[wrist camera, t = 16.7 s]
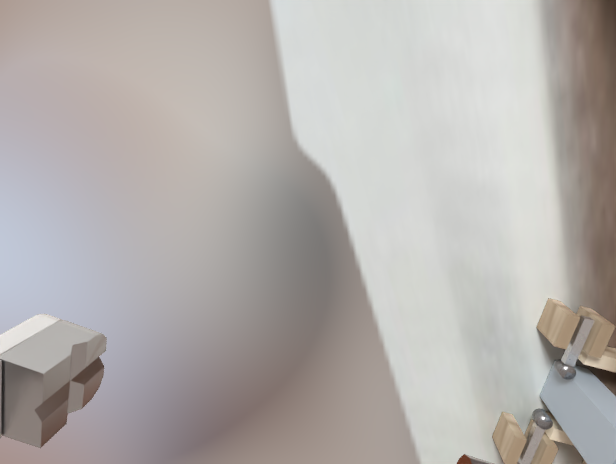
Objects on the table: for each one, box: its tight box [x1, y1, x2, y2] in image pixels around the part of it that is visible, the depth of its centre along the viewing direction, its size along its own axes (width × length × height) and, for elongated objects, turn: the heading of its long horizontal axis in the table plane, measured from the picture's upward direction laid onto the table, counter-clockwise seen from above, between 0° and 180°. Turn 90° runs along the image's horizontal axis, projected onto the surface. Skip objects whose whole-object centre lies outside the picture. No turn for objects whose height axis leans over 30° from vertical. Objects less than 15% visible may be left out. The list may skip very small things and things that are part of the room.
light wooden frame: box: [492, 298, 616, 464], centre depth 34 cm, size 12×16×4 cm
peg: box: [540, 360, 616, 464], centre depth 32 cm, size 4×4×10 cm
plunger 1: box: [518, 409, 553, 464], centre depth 35 cm, size 1×6×1 cm, turn 167°
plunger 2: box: [554, 315, 594, 380], centre depth 33 cm, size 1×6×1 cm, turn 167°
